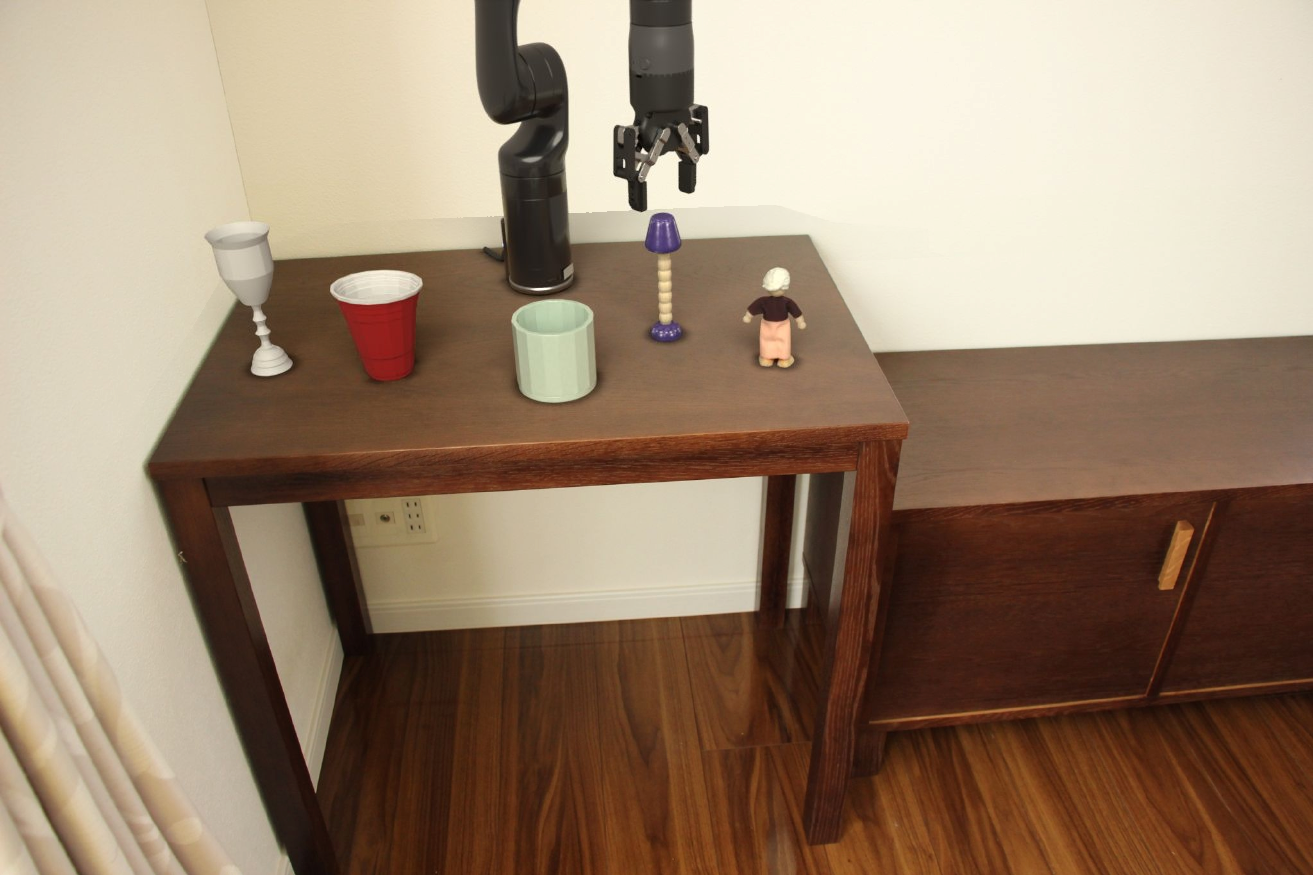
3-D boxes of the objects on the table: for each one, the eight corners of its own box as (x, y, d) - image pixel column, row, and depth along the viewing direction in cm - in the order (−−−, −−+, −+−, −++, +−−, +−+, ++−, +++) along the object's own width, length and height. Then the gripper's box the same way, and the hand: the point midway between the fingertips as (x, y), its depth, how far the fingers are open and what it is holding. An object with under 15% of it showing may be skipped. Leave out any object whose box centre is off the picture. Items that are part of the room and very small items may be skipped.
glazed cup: (502, 383, 121) (495, 317, 116) (561, 356, 127) (556, 292, 122) (554, 411, 116) (548, 343, 111) (612, 381, 121) (610, 315, 116)
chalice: (245, 384, 122) (207, 247, 112) (237, 361, 127) (200, 228, 117) (306, 370, 125) (274, 235, 115) (296, 348, 130) (264, 217, 120)
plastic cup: (451, 356, 127) (438, 269, 121) (406, 396, 119) (391, 306, 112) (378, 344, 130) (362, 259, 124) (330, 383, 122) (310, 294, 115)
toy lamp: (678, 345, 129) (678, 223, 120) (643, 342, 130) (640, 221, 121) (684, 328, 133) (684, 209, 124) (650, 325, 134) (648, 207, 125)
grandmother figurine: (800, 354, 127) (807, 262, 120) (803, 368, 124) (811, 275, 117) (740, 354, 127) (744, 262, 120) (742, 369, 124) (746, 275, 117)
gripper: (679, 48, 119) (679, 180, 128) (593, 69, 110) (600, 209, 119) (727, 57, 115) (724, 193, 123) (641, 80, 106) (644, 224, 115)
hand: (663, 201), depth 121 cm, fingers open, 8 cm apart
